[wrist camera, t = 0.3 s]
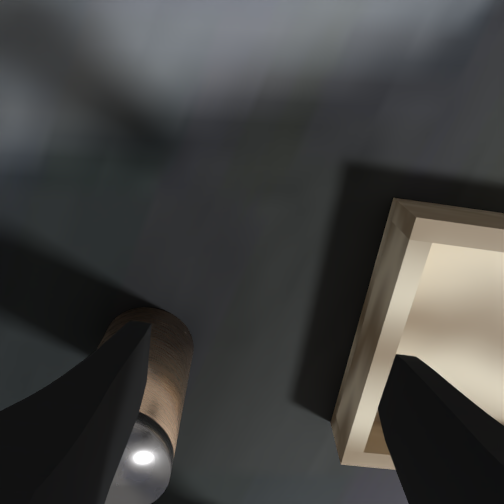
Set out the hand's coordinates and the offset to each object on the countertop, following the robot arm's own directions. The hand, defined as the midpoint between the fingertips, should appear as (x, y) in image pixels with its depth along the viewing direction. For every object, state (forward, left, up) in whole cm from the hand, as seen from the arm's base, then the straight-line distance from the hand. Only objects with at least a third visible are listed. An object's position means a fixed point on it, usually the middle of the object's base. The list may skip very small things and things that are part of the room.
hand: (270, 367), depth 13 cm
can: (-7, +5, -10) cm, 13 cm away
